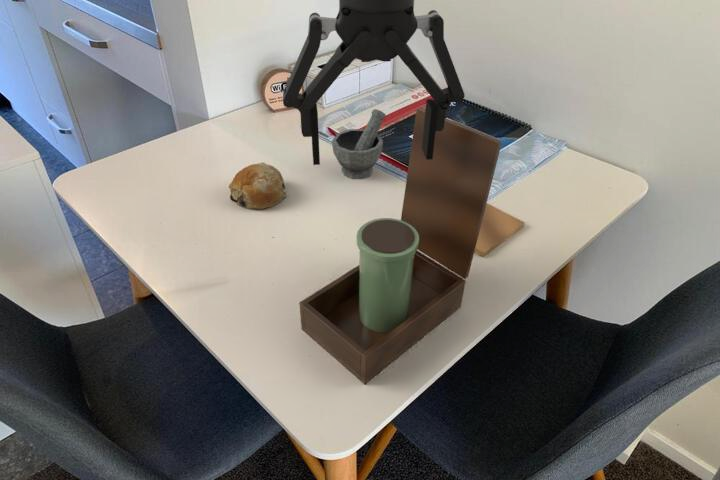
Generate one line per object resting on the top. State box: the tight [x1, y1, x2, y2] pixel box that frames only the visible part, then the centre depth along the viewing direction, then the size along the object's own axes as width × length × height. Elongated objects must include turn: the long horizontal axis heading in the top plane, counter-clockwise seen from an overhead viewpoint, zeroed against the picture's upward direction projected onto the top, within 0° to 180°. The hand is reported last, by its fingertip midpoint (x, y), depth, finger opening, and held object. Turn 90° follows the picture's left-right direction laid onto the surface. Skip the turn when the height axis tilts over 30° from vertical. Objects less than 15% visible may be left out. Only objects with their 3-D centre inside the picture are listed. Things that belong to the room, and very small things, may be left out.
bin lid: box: [400, 106, 503, 280], centre depth 71 cm, size 20×13×5 cm
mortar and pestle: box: [331, 108, 387, 180], centre depth 102 cm, size 11×9×12 cm
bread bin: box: [299, 250, 467, 385], centre depth 73 cm, size 20×13×5 cm, turn 134°
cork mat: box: [474, 203, 525, 258], centre depth 91 cm, size 12×12×1 cm
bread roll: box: [228, 162, 288, 210], centre depth 96 cm, size 10×10×8 cm
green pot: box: [356, 217, 419, 333], centre depth 69 cm, size 8×8×14 cm
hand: (372, 156), depth 63 cm, fingers open, 13 cm apart
